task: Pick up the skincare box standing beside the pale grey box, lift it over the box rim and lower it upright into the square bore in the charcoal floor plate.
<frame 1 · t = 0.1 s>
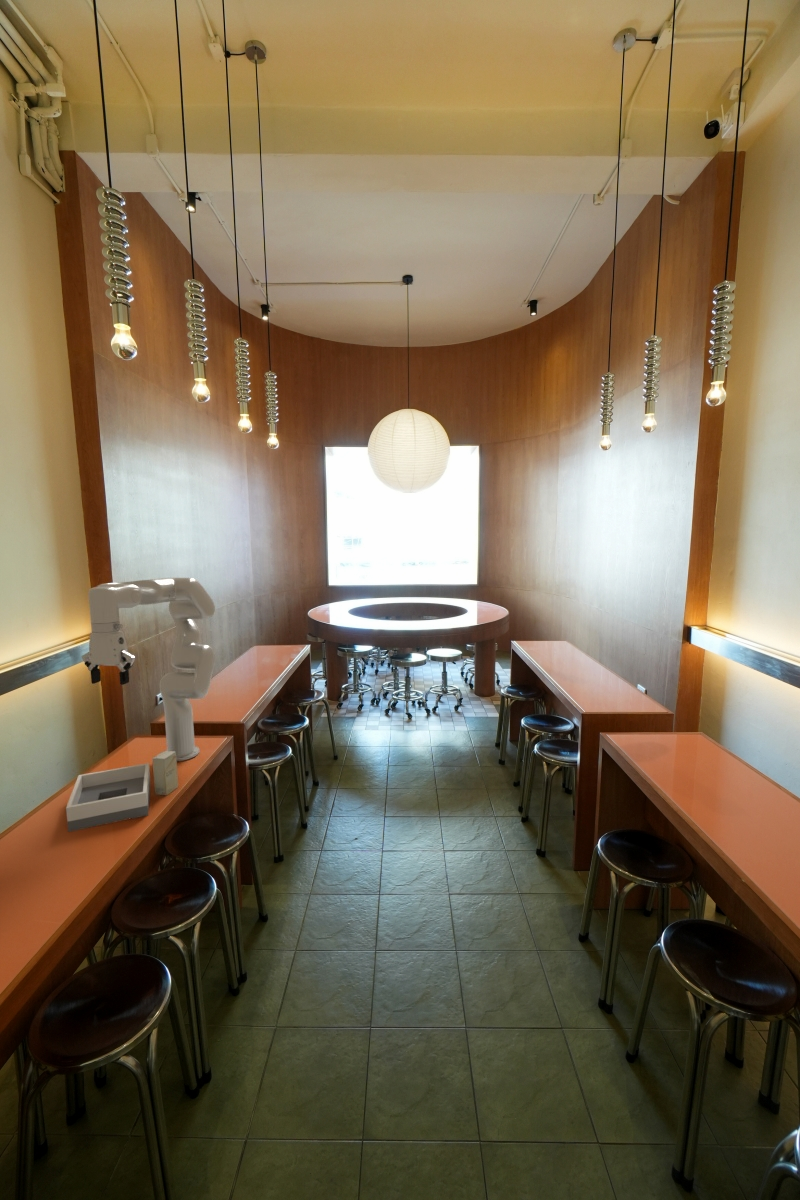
hand: (110, 683, 157), 37 cm above the table, tool pointing down, fingers open, 9 cm apart
bore box: (113, 805, 157), on the table
skincare box: (166, 791, 166), on the table
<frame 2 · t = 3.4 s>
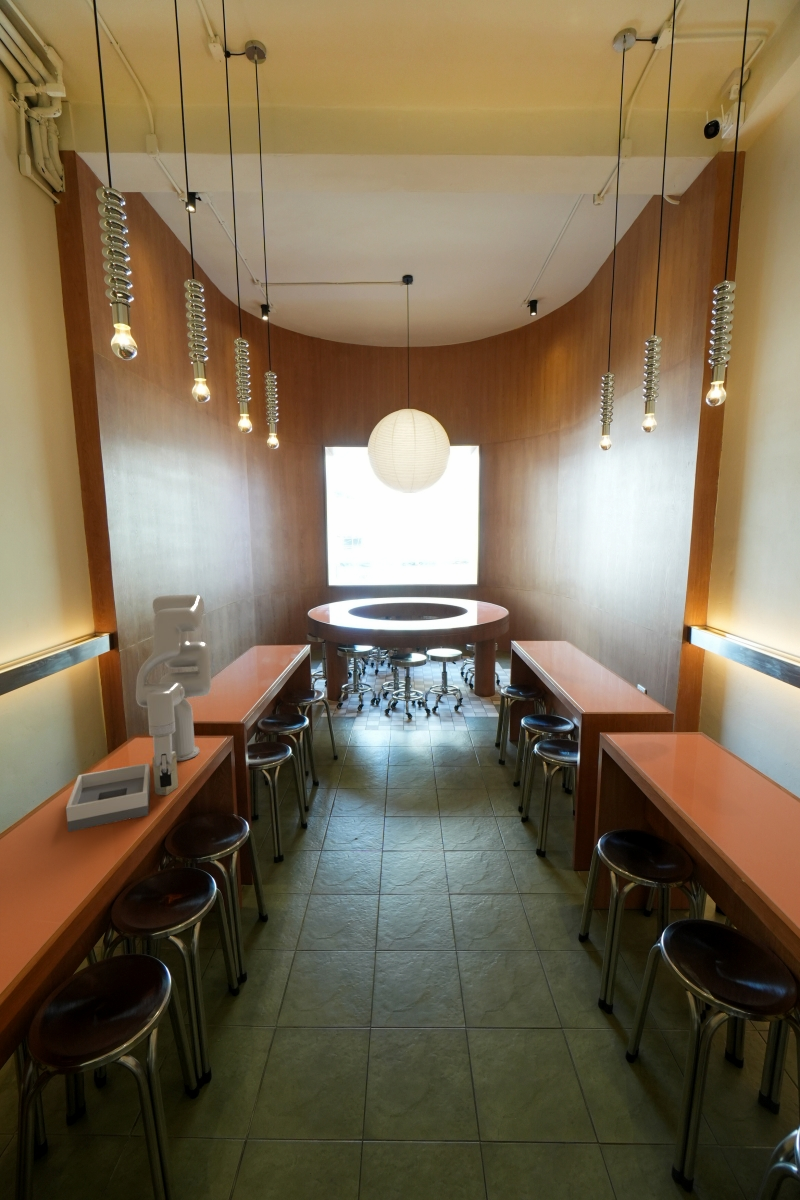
hand: (166, 780, 166), 3 cm above the table, tool pointing down, fingers closed on skincare box, 7 cm apart
skincare box: (166, 791, 166), on the table, touching gripper
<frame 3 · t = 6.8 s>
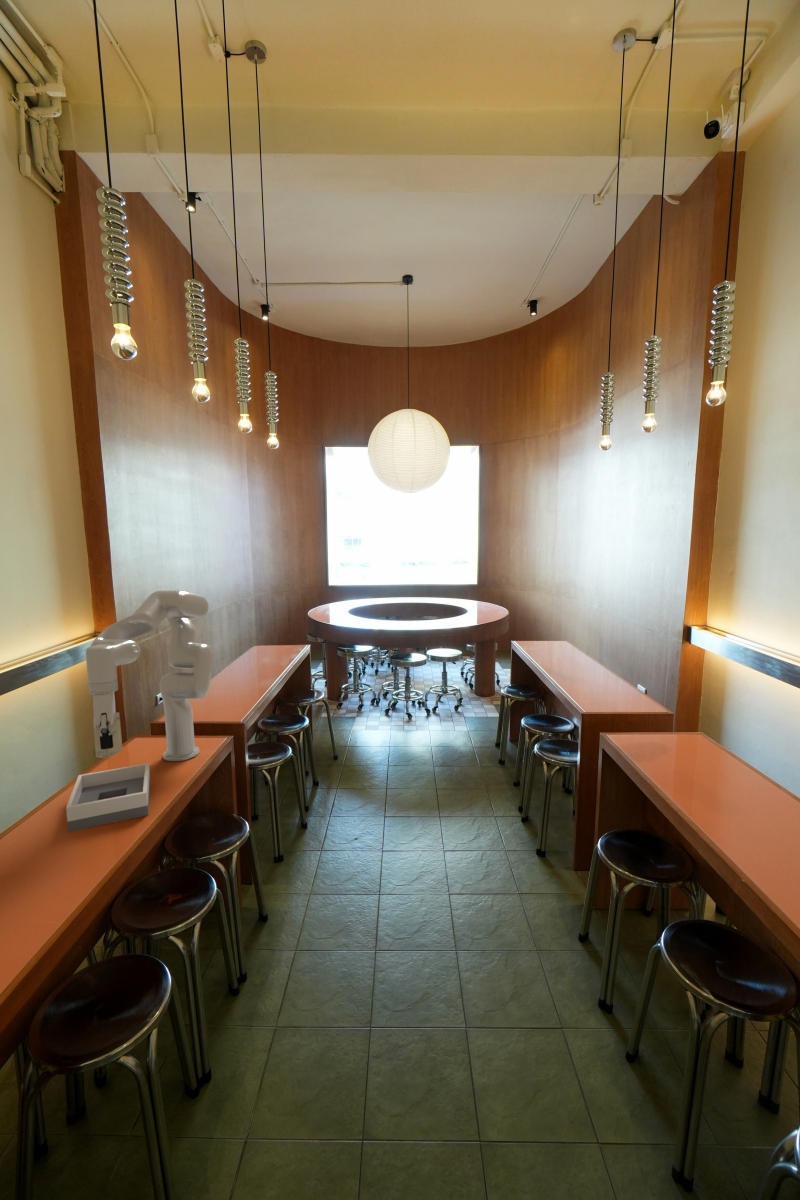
hand: (108, 743, 155), 20 cm above the table, tool pointing down, fingers closed on skincare box, 7 cm apart
skincare box: (109, 754, 156), point 16 cm above the table, touching gripper
when the fingers open (5 cm above the table, at t = 10.0 s): skincare box drops 1 cm, resting in bore box.
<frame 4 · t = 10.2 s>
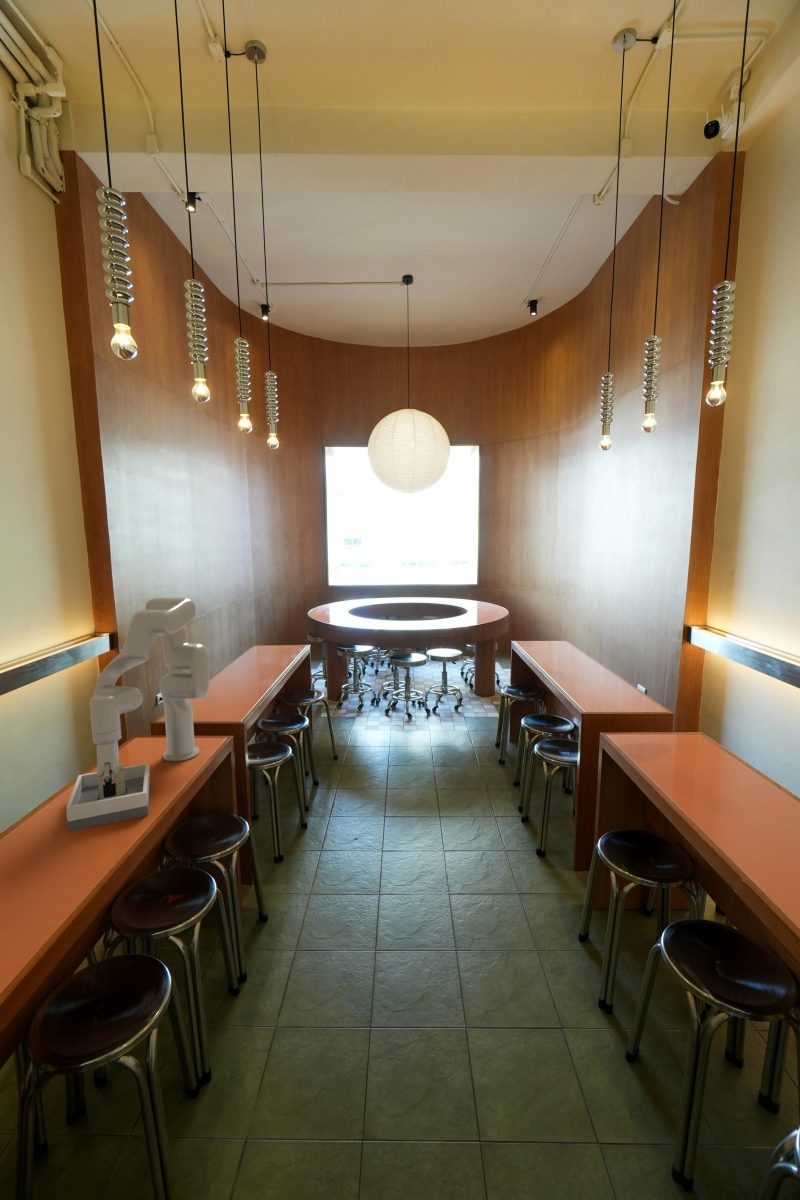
hand: (111, 789, 157), 5 cm above the table, tool pointing down, fingers open, 9 cm apart
skincare box: (113, 805, 158), resting in bore box
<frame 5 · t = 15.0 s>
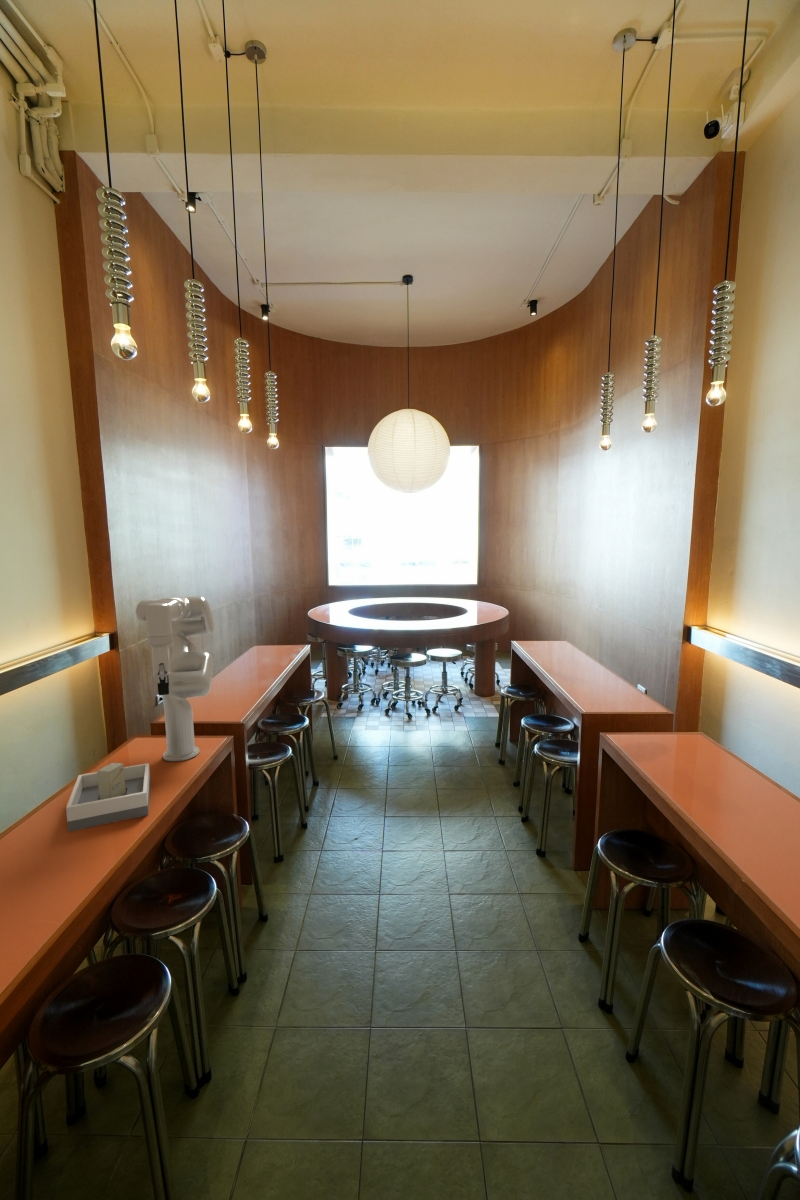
hand: (163, 690, 172), 30 cm above the table, tool pointing down, fingers open, 9 cm apart
nothing on the table moved.
at the end: skincare box 0.3 cm off-centre on the bore box, point 0.0 cm above the bore box's base; skincare box tilted 0°; the gripper is holding nothing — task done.
